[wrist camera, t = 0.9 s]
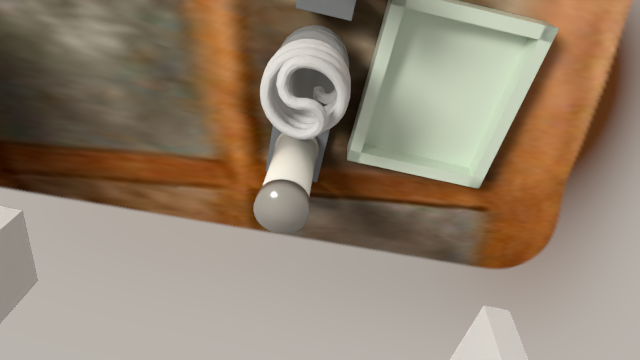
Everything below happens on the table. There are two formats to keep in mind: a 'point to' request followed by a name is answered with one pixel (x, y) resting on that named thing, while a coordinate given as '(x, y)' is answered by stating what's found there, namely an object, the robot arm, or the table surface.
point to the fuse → (287, 185)
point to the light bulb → (307, 83)
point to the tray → (445, 87)
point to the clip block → (341, 5)
